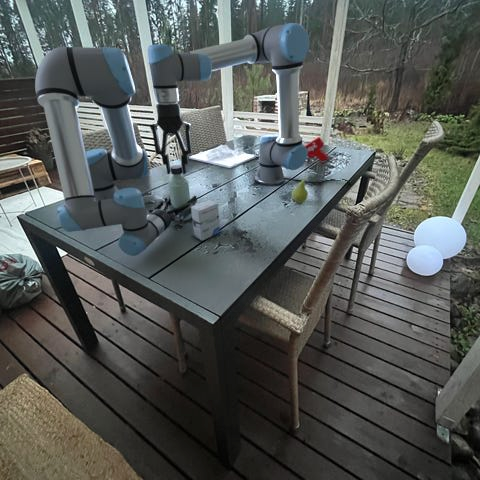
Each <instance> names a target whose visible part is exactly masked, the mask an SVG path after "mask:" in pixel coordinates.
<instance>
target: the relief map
mask: <svg viewBox="0 0 480 480" xmlns="http://www.w3.org/2000/svg"><path fill="white" fill-rule="evenodd" d="M256 158H257V155H256V154H252V153H251V154H250V153H247V152H245V151H244V150H243V149H242V148H241V147H239V148H237V149H232V148H230V147H229V146H228V145H227V144H222V143H221V144H220V145H218V146H216V147H214V148H212V149H208V150H205V151H199V152H198V153H197V154H192V155H190V156H188V160H189V159H190V160H194V161H199V162H202V163H207V164H211V165H215V166H219V167H223V168H228V169H233V168H235V167H237V166H239V165H242V164H245V163H247V162H249V161H252V160H254V159H256Z"/></svg>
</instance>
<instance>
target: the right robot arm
mask: <svg viewBox="0 0 480 480" xmlns="http://www.w3.org/2000/svg"><path fill="white" fill-rule="evenodd" d="M309 51H310V36H309V33H308V31H307V30H306V28H305V27H304V26H303V25H302V24H301V23H296V22H288V23H285V24H279V25H278V24H277V25H271V26H268V27H266V28H263V29H261V30H259V31H256V32H253V33H249V34H246V35H245V36H244V37H243V39H238V40H234V41H229V42H225V43H221V44H216V45H212V46H211V45H210V46H208V47H204V48H198V49H194V50H190V51H187V52H182V53H176V52H175V51H174V47H173V45H171V44H149V46H148V47H147V59H148V65H149V70H150V71H149V72H150V77H151V82H152V90H153V96H154V101H155V103H156V104H155V108H156V116H157V121H156V122H154V123H153V122H152V123H151V124H149V128H150V130H151V132H152V138H153V144H154V151H155V154H156V155H159V156H161V160H162V164H163V165H165V167H166V174H167V175H170V174H171V165H170V158H169V154H167V145H168V136H169V134H173V135H174V136H175V138H176V140H177V142H178V145H179V148H180V150H181V156H180V158H181V166H182V171H183V172H182V175H186V173H187V166H186V165H188V163H189V156H188V155H190V154H192V151H193V149H192V147H193V146H192V139H191V122H187V121H184V120H183V119H182V115H181V107H180V104H179V103H178V102H180V98H179V89H178V82H203V81H209V79H210V78H211V76H212V72H215V71H219V70H222V69H227V68H229V67H233V66H238V65H241V64H245V63H248V64H250V65H253V64H257V63H270V64H271V70H272V72H273V73H274V74H275V75H276V91H277V92H276V93H277V110H278V111H277V114H278V115H277V116H278V117H277V118H278V134H266V135H262V136H260V139H259V143H258V145H259V153H258V157H259V158H258V167H257V171H256V174H255V177H254V181H255V183H258V184H259V185H262V186H263V185H264V186H279V185H281V184H283V183H284V181H285V180H286V181H291V182H292V181H293V182H297V183H300V182H301V181H302V180H303V179H296V178H289V177H285V175H284V172H283V171H284V170H283V168H285V169H286V170H290V171H296V170H299V169H300V168H302V167H303V165H304V164H305V162H306V161H307V158H308V157H307V155H308V151H307V148H306V147H305V145H304V144H303V136H302V135H301V134H300V131H299V130H300V126H299V125H300V92H299V91H300V89H299V88H300V87H299V86H300V83H299V81H300V80H299V79H300V76H299V75H300V74H299V72H300V70H301V69H302V68H303V67H304V66H303V65H304V64H303V63H304V60H305V59H306V57H307V55H308V53H309ZM182 126H183V130H185V131H184V132H185V140H186V141H185V142H186V145H185V143H184V140H183V137H182V134H181V131H180V129H181V128H182ZM159 128H160V129H161V130H162V141H161V146H160V138H159V132H158V129H159ZM329 179H330V180H327V179H324V180H325V181H323V180H321V181H322V182H319V181H309V180H305V183H306V184H323V183H327V182H330V181H331V182H333V181H334V182H336V181H338V182H339V181H340V182H341V180H335V179H336V178H329ZM341 179H342V180H345V181H344V182H346V181H347V182H346V183H347V184H349V185H350V186H351V185H352V183H351V181H349V180H348V179H345V178H341Z"/></svg>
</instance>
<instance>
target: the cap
mask: <svg viewBox="0 0 480 480" xmlns="http://www.w3.org/2000/svg"><path fill="white" fill-rule="evenodd" d="M170 170H171V172H170V174H171V175H173V174H174V175H178V174H181V175H182V174H183V167H182V165H179V164H174V165H170Z"/></svg>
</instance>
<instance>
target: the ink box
mask: <svg viewBox="0 0 480 480" xmlns="http://www.w3.org/2000/svg"><path fill="white" fill-rule="evenodd" d="M191 211H192V218H191V220H192V227H193V235H194V237H195V238H197V239H199V240H200V241H206V240H208V239H209V238H211V237H214V236H215V235H217V234H219V233H220V232H221V225H220V212H219V203H218V202H216V201H213V200H212V199H208V200H206V201H203V202H200V203H198V204H195V206H192V207H191Z"/></svg>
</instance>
